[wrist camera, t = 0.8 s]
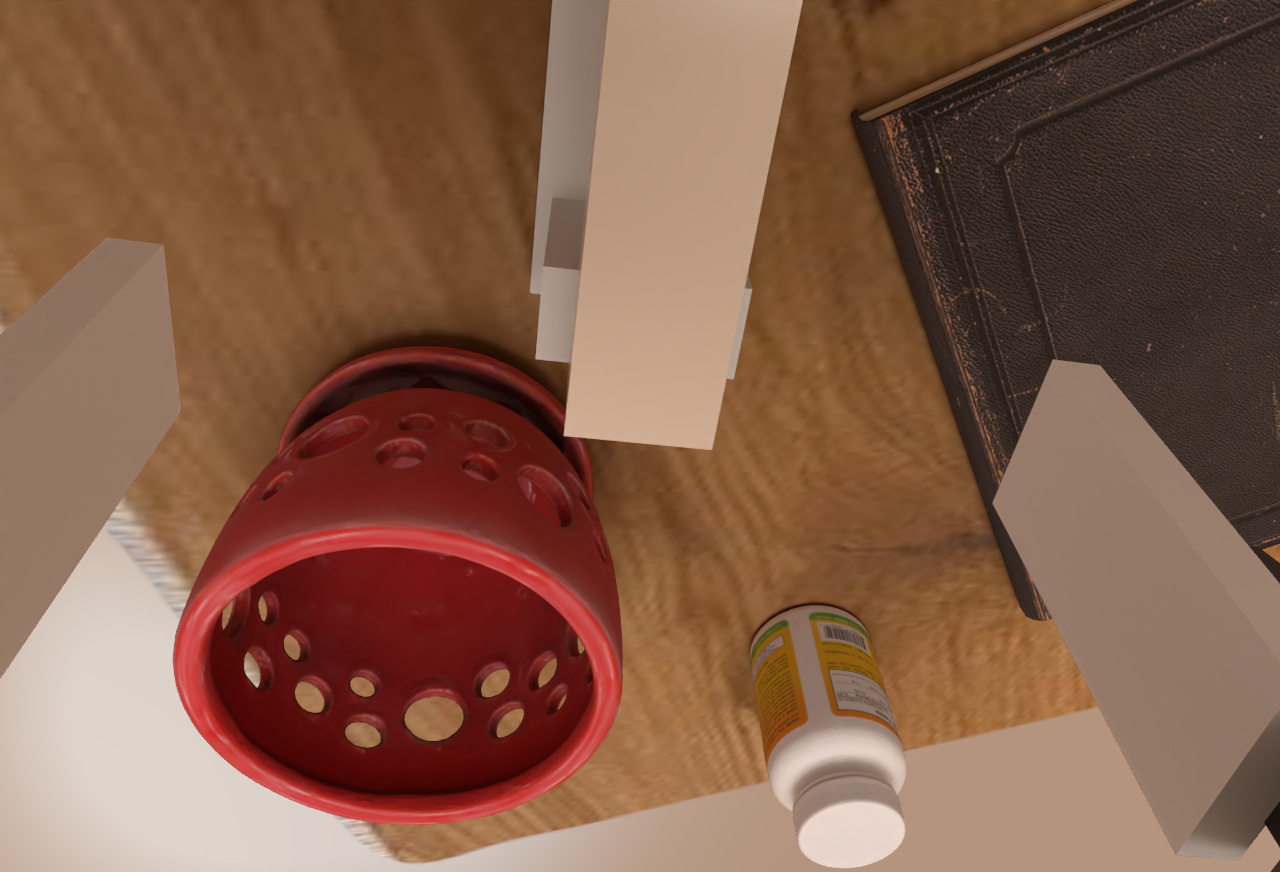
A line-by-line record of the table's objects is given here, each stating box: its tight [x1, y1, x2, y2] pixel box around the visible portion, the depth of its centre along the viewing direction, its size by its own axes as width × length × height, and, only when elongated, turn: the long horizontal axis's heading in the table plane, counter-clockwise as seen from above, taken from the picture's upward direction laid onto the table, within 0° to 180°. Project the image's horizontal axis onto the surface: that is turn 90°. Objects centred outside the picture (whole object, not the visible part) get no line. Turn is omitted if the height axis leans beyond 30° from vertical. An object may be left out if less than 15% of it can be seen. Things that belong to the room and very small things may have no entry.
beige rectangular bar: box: [564, 0, 803, 450], centre depth 24 cm, size 17×4×4 cm, turn 173°
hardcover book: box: [851, 0, 1280, 621], centre depth 36 cm, size 16×23×2 cm
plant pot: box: [173, 346, 623, 825], centre depth 35 cm, size 13×13×12 cm
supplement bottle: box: [750, 605, 906, 868], centre depth 42 cm, size 5×5×10 cm
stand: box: [530, 0, 752, 379], centre depth 29 cm, size 18×7×6 cm, turn 173°
